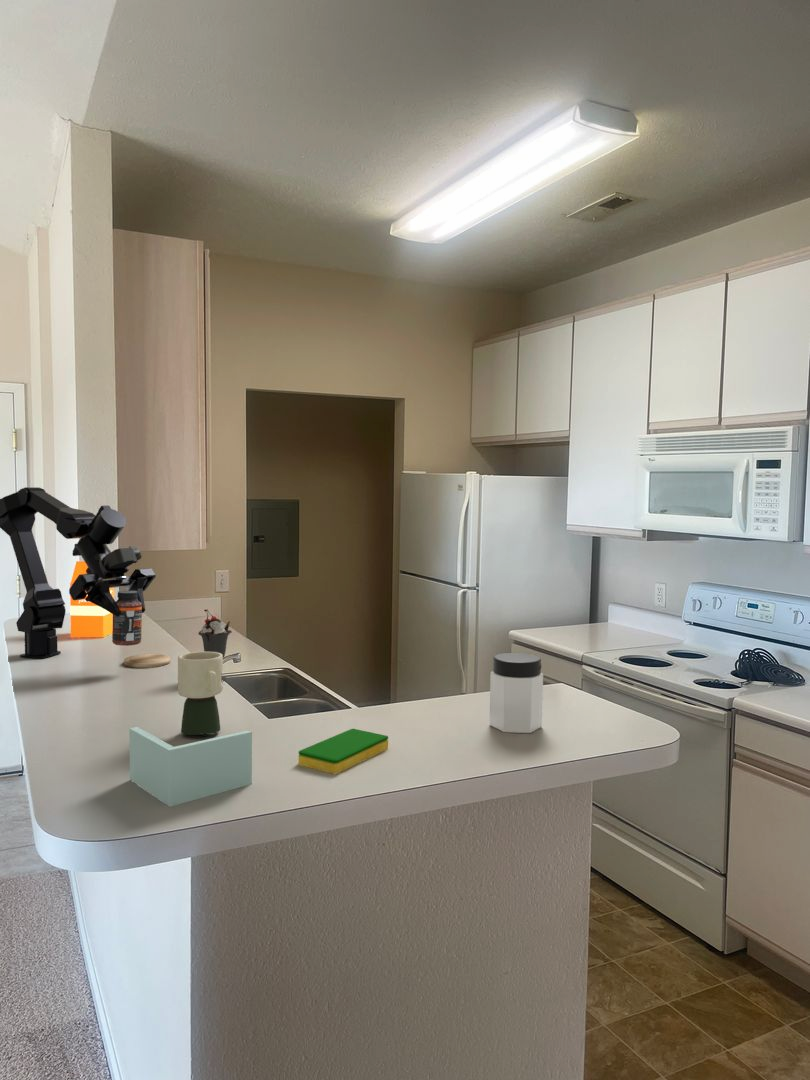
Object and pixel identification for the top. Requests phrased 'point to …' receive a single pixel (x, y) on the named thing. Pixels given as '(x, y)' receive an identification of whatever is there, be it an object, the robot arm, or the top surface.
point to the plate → (147, 661)
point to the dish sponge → (343, 750)
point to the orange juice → (88, 613)
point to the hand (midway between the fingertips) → (131, 613)
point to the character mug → (200, 691)
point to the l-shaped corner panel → (190, 766)
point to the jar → (516, 693)
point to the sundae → (215, 636)
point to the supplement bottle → (127, 619)
